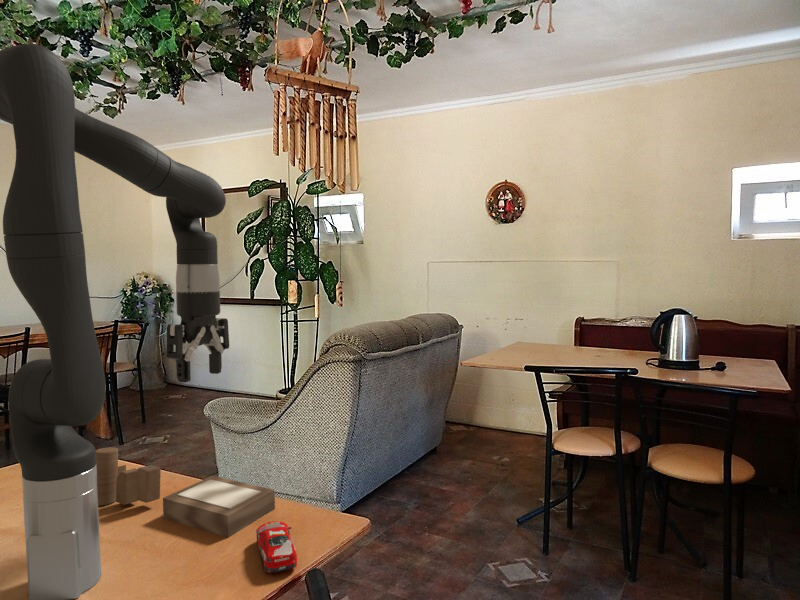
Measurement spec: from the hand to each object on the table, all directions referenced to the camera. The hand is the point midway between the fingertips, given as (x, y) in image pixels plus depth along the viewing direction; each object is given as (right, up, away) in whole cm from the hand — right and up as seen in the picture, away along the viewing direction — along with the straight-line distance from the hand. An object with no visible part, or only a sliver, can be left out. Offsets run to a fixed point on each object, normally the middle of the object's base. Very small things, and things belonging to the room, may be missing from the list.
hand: (200, 377), depth 102 cm
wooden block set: (-18, -26, +7) cm, 32 cm away
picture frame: (+3, -26, +1) cm, 26 cm away
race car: (+15, -28, -11) cm, 34 cm away
